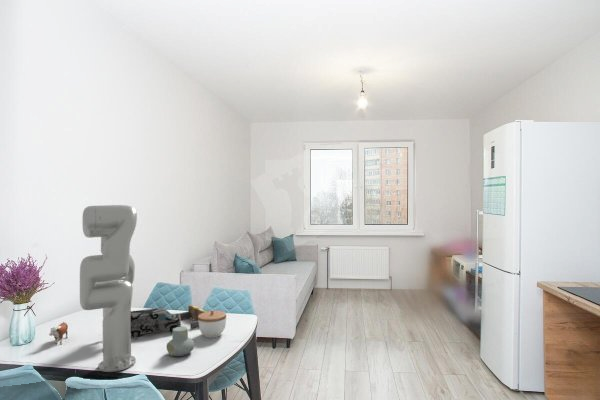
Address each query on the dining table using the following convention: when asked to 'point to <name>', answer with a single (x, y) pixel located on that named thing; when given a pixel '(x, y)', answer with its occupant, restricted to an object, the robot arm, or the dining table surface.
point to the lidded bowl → (212, 323)
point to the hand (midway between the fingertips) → (111, 335)
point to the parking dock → (192, 315)
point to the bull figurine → (59, 332)
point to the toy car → (153, 321)
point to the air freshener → (180, 342)
